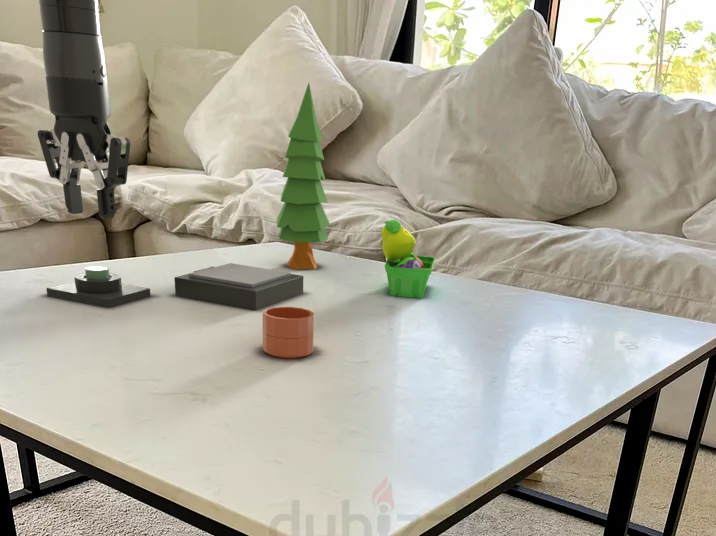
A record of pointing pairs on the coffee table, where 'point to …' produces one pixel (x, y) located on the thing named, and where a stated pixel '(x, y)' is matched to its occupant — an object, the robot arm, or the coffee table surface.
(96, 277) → the button
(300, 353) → the terracotta cup
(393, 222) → the fruit basket
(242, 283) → the scale
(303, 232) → the decorative tree
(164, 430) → the coffee table surface
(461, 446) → the coffee table surface
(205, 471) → the coffee table surface
